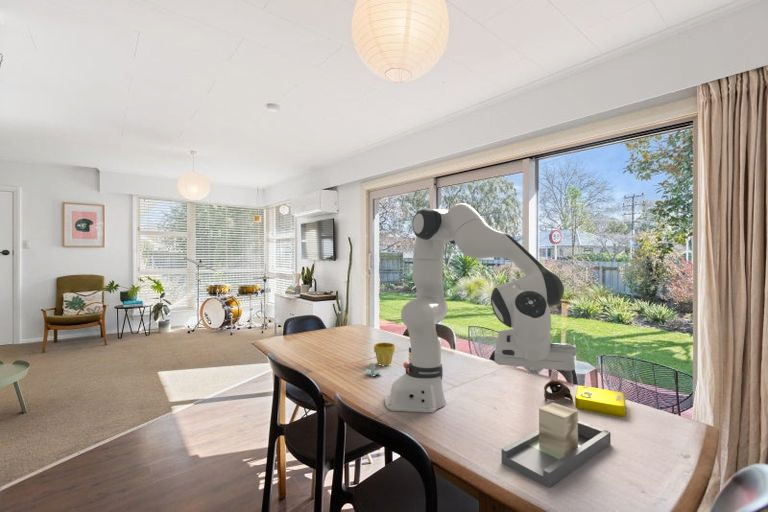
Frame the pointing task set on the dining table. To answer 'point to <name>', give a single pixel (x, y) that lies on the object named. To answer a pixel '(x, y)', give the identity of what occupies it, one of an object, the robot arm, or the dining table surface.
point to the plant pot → (384, 353)
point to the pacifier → (372, 370)
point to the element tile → (600, 401)
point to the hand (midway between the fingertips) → (533, 371)
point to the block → (558, 428)
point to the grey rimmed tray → (554, 455)
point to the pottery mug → (557, 391)
